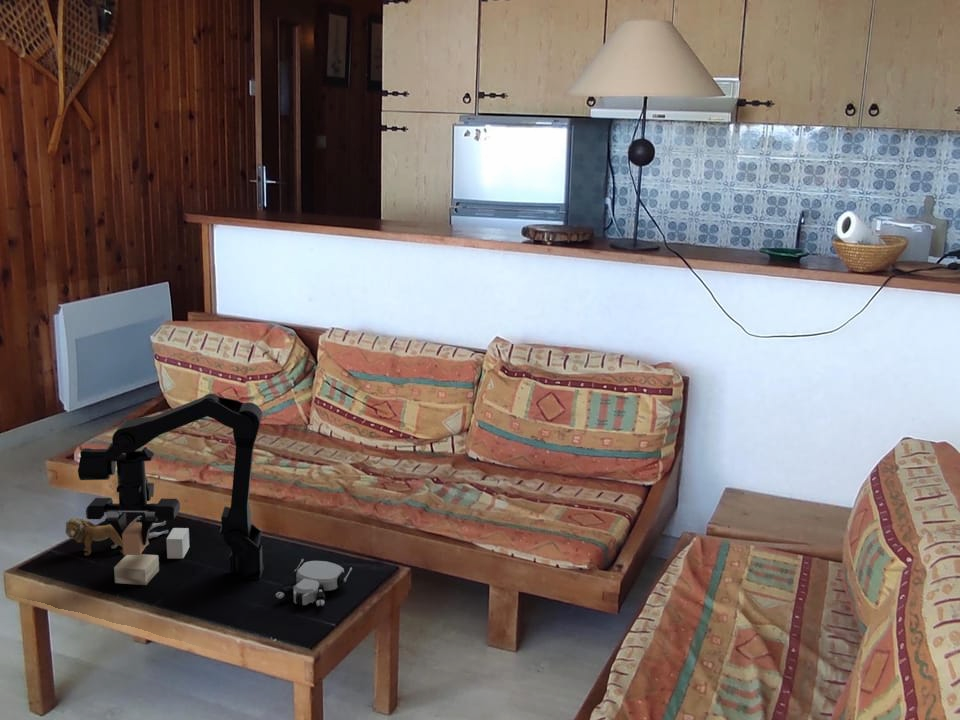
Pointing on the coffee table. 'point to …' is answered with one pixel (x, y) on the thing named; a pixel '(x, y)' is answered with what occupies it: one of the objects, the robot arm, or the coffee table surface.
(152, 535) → the soldier figure
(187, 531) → the off-white brick
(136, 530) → the terracotta brick
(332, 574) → the robot toy
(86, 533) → the lion figurine
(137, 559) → the birch block
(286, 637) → the coffee table surface
